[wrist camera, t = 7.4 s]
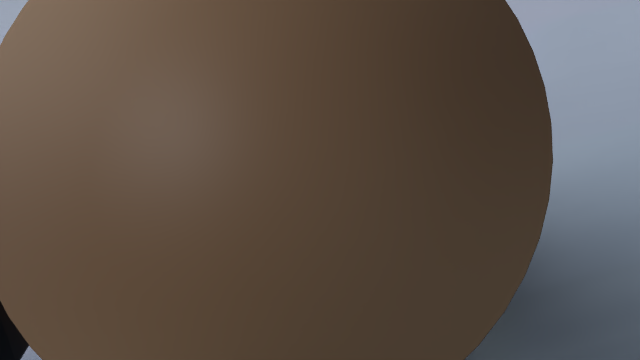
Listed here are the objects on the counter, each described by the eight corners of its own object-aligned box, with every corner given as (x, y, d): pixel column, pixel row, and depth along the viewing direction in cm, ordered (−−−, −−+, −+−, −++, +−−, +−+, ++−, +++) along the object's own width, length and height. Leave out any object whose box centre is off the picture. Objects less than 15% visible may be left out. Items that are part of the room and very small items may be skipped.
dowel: (411, 266, 16) (683, 230, 3) (298, 335, 16) (122, 584, 3) (343, 157, 17) (351, -205, 4) (235, 221, 17) (-113, 43, 4)
